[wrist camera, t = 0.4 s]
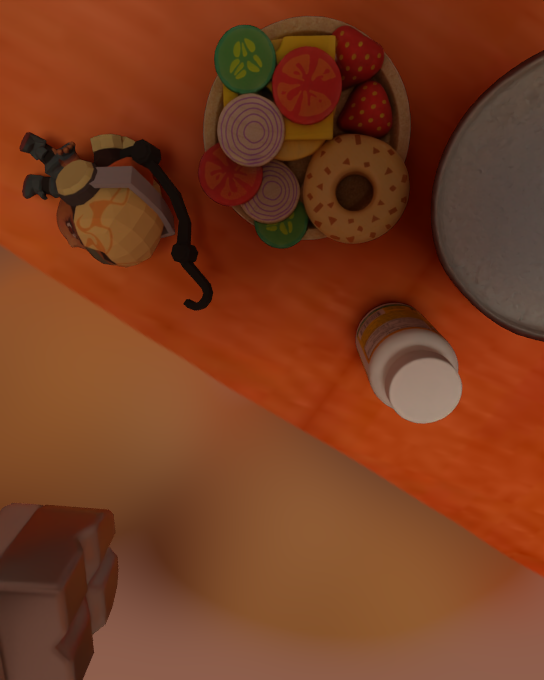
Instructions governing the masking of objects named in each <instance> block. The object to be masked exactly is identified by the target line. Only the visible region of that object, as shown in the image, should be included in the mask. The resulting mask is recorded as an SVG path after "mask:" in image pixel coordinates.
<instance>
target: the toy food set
mask: <svg viewBox="0 0 544 680" xmlns="http://www.w3.org/2000/svg"><path fill="white" fill-rule="evenodd" d="M214 62H215V69H216V72H217V74H218V75H217V77H216V79H215V81H214V83H213V85H212V88H211V91H210V93H209V97H208V100H207V104H206V109H205V114H204V124H203V138H204V147H205V154H204V155H203V156H202V158H201V161H200V164H199V169H198V177H199V181H200V184H201V187H202V189H203V191H204V192H205V193H206V195H207V196H208V197H210V199H212V200H213V201H215V202H217V203H218V204H221V205H224V206H232V208H233V209H234V210H235V211H236V212H237V213H238V214H239V215H240V216H242V217H243V218H244V219H245V220H247V221H248V222H250V223H251V224H252V225H254V226H255V229H256V232H257V234H258V236H259V237H260V239H261V240H262V241H263V242H265V243H266V244H267V245H269V246H271V247H274V248H282V249H284V248H289V247H291V246H294V245H295V244H297V243H298V242H299V241H300V240H313V239H321V238H325V237H329V238H331V239H333V240H335V241H338V242H342V243H350V244H355V243H363V242H368V241H371V240H373V239H376V238H378V237H380V236H382V235H383V234H385V233H386V232H387V231H389V230H390V229H391V228H392V227H393V226H394V225H395V224H396V223H397V221H398V220H399V219H400V217H401V215H402V214H403V212H404V210H405V207H406V205H407V202H408V198H409V192H410V182H409V175H408V171H407V168H406V166H405V164H404V162H405V159H406V156H407V152H408V148H409V142H410V133H411V116H410V110H409V102H408V98H407V94H406V90H405V87H404V85H403V82H402V80H401V77H400V75H399V73H398V71H397V69H396V67H395V66H394V64H393V63H392V61H391V60H390V58H389V57H388V56H387V54H386V53H385V52H384V51H383V48H382V46H381V45H380V44H378V43H377V42H375V41H374V40H372V39H371V38H370V37H368V36H367V35H366V34H365V33H363V32H361V31H360V30H358V29H357V28H355V27H353V26H351V25H349V24H347V23H344V22H341V21H338V20H335V19H332V18H327V17H317V16H302V17H294V18H289V19H285V20H282V21H279V22H276V23H273V24H271V25H269V26H267V27H265V28H263V29H261V30H260V29H259V28H257V27H254V26H251V25H239V26H236V27H233V28H231V29H230V30H228V31H227V32H226V33H225V34H224V35H223V36H222V38H221V39H220V41H219V43H218V45H217V47H216V50H215V56H214Z"/></svg>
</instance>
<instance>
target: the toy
mask: <svg viewBox="0 0 544 680" xmlns="http://www.w3.org/2000/svg"><path fill="white" fill-rule="evenodd" d="M90 140H91V144H92V149H93V153H94V163H92V162H89V161H84V160H80V158H79V157H78V155H77V153H76V152H75V143H74V142H70V143H67V144H66V145H64V146H63V147H61V148H60V149H55V148H52V147H51V146H49V145H48V144H47V143H46V142H47V141H46V140H44V139H42V138H40V137H38V136H36V135H34V134H32V133H30V132H28V133H26V134H25V136H24V138H23V140H22V142H21V145H20V151H22V152H26V153H30V154H31V155H32V156H33V157H34V158H35V159H36V160H40V161H41V162H42V163H44V164H45V173H46V174H48V175H50V176H51V177H44V176H41V175H32V174H30V175H27V176H26V179H25V181H24V184H23V190H22V192H23V196H24V197H25V198H26V199H28V198H31V197H32V196H34V195H35V194H38V195H39V196H40V197H41V198H42V199H44V200H46V199H47V197H46V194H50V195H52V196H53V197H55V198H58V197H60V198H61V200H60V203H59V206H58V210H57V223H58V227H59V229H60V231H61V233H62V234H63V236H64V237H65V238H66V239H67V241H68V243H69V244H70V245H71V247H80V248H83V249H86V250H87V251H88V252H89V253H90V254H91V255H92V256H93V257H94V258H95V259H97V260H98V261H100V262H101V263H103V264H109V265H115V266H122V267H130V266H133V265H137V264H139V263H141V262H143V261H144V260H146V259H148V258H150V257H151V256H152V254H153V252H154V250H155V248H156V247H157V245H158V243H159V241H160V238H163V237H167V236H171V235H175V228H174V218H173V215H172V213H171V211H170V209H169V207H168V205H167V204H166V202H165V201H164V199H163V198H162V194H161V190H160V186H159V184H158V183H157V182H156V181H155V180H153V175H154V176H155V177H156V179H157V180H158V181H159V183H160V184H161V186H162V187H163V189H164V190H165V191H166V193H167V194H168V196H169V197H170V200H171V202H172V205H173V207H174V210H175V212H176V215H177V218H178V220H179V225H178V236H177V243H176V244H175V245H173V248H172V252H171V255H172V257H173V259H174V261H176V262H179V263H180V264H181V265H182V267H183V268H184V269H185V270H186V271H187V272H188V274H189V275H190V276H191V277H192V278H193V279H194V280H195V281H196V283H197V284H198V285H199V286H200V287H201V289H202V291H203V296H202V298H201V300H200V301H199V302H197V303H196V302H194V301H192V300H190V299H186V301H185V302H184V305H185V306H186V307H187V308H190V309H192V310H201V309H204V308H206V307H207V306H208V305H209V303H210V302H211V300H212V295H213V290H212V287H211V284H210V283H209V281H208V280H207V279H206V278H205V277H204V275H203V274H202V273H201V272H200V271H199V269H198V268H197V267H196V266H195V265H194V263H193V262H195V261H196V259H197V255H198V252H197V250H196V247H195V246H194V245H191V221H190V218H189V215H188V212H187V209H186V207H185V204H184V201H183V198H182V196H181V193H180V192H179V191H178V189H177V188H176V187H175V186H174V184H173V183H172V182H171V180H170V179H169V178H168V176H167V175H166V174H165V172H164V171H163V170H162V169H161V167H160V166H159V165H158V164H159V162H160V161H161V154H160V150H159V149H158V148H156V147H155V146H153V145H151V144H150V143H148V142H147V141H145V140H143V139H142V140H139V141H136V142H135V141H133V140H131V139H130V138H128V137H123V136H120V135H114V134H107V135H98V136H96V137H93V138H91V139H90ZM152 174H153V175H152Z"/></svg>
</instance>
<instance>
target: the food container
mask: <svg viewBox="0 0 544 680" xmlns="http://www.w3.org/2000/svg"><path fill="white" fill-rule="evenodd" d="M431 226H432V233H433V239H434V244H435V248H436V251H437V254H438V257H439V260H440V262H441V264H442V266H443V268H444V270H445V272H446V273H447V275H448V276H449V278H450V279H451V280H452V282H453V283H454V284H455V286H456V287H457V288H458V289H459V290H460V292H461V293H462V294H463V295H464V296H465V297H466V298H467V299H468V300H469V301H470V302H471V303H472V305H474V306H475V307H476V308H477V309H478V310H479V311H480V312H482V313H483V314H484V315H485V316H487V317H488V318H489V319H491V320H492V321H493V322H495V323H496V324H498V325H500V326H501V327H503V328H505V329H507V330H509V331H511V332H513V333H515V334H517V335H520V336H524V337H527V338H531V339H535V340H539V341H544V50H543V51H541V52H540V53H538V54H536V55H534V56H532V57H530V58H529V59H527V60H525V61H524V62H522V63H520V64H519V65H517V66H516V67H515V68H513V69H511V70H510V71H509V72H507V73H506V74H505V75H504V76H502V77H501V78H499V79H498V80H497V81H496V82H495V83H494V84H493V85H491V86H490V87H489V88H488V89H487V90H486V91H485V92H484V93H483V94H482V95H481V96H480V97H479V98H478V99H477V100H476V102H475V103H474V104H473V105H472V106H471V107H470V108H469V110H468V111H467V112H466V114H465V115H464V116H463V118H462V119H461V121H460V122H459V124H458V125H457V127H456V129H455V130H454V132H453V134H452V136H451V138H450V139H449V141H448V143H447V145H446V147H445V150H444V152H443V155H442V157H441V160H440V162H439V166H438V169H437V172H436V176H435V180H434V185H433V191H432V201H431Z"/></svg>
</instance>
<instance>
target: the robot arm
mask: <svg viewBox="0 0 544 680" xmlns="http://www.w3.org/2000/svg"><path fill="white" fill-rule="evenodd" d="M114 534H115V525H114V515H113V513H112V512H111V511H109V510H106V509H93V508H80V507H66V506H55V505H45V506H43V505H36V504H21V503H12V504H10V505H7V506H5V507H3V508H2V510H1V511H0V680H83V677H84V675H85V672H86V670H87V668H88V665H89V663H90V661H91V658H92V656H93V653H94V648H93V638H92V635H93V634H94V633H95V632H96V631H98V630H99V629H100V628H101V627H103V626H104V625H105V624H106V622H107V619H108V617H109V614H110V612H111V609H112V606H113V602H114V598H115V593H116V589H117V580H118V557H117V555H116V554H115V553H114V552H113V551H112V550H111V548H110V547H109V545H110V543H111V541H112V539H113V537H114Z"/></svg>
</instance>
